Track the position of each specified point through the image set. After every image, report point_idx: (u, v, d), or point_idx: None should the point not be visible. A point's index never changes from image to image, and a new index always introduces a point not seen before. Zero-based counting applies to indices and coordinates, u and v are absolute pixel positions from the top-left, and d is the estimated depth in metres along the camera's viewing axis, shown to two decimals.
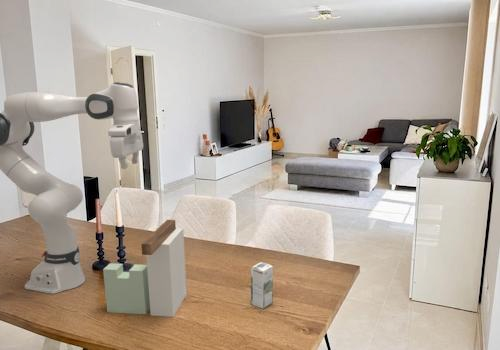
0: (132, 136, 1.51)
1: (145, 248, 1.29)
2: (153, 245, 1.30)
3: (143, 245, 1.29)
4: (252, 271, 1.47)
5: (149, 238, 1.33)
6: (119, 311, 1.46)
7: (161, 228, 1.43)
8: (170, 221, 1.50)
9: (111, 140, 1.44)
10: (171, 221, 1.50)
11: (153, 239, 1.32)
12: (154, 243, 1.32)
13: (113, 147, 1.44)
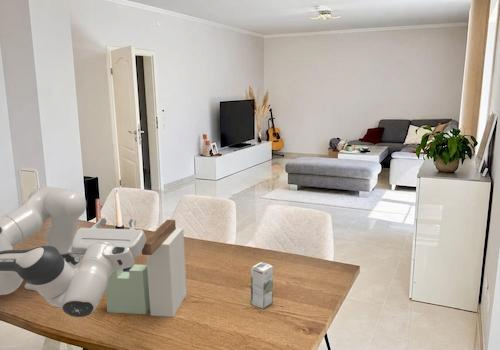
0: (107, 244, 1.15)
1: (145, 248, 1.29)
2: (153, 245, 1.30)
3: None
4: (252, 271, 1.47)
5: (149, 238, 1.33)
6: (119, 311, 1.46)
7: (161, 228, 1.43)
8: (170, 221, 1.50)
9: (138, 254, 1.17)
10: (171, 221, 1.50)
11: (153, 239, 1.32)
12: (154, 243, 1.32)
13: (142, 245, 1.18)
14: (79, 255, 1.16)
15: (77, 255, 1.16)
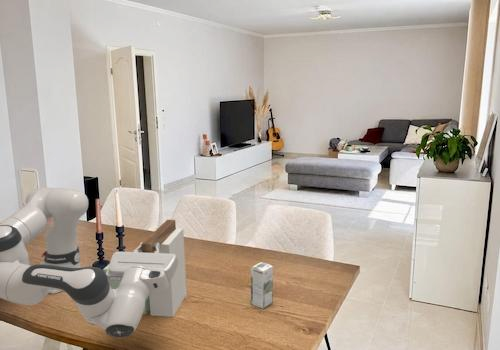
0: (143, 268, 1.22)
1: (145, 248, 1.29)
2: None
3: (143, 245, 1.29)
4: (252, 271, 1.47)
5: (149, 238, 1.33)
6: None
7: (161, 228, 1.43)
8: (170, 221, 1.50)
9: (172, 276, 1.24)
10: (171, 221, 1.50)
11: (153, 239, 1.32)
12: None
13: (175, 268, 1.26)
14: (116, 278, 1.23)
15: (114, 278, 1.23)
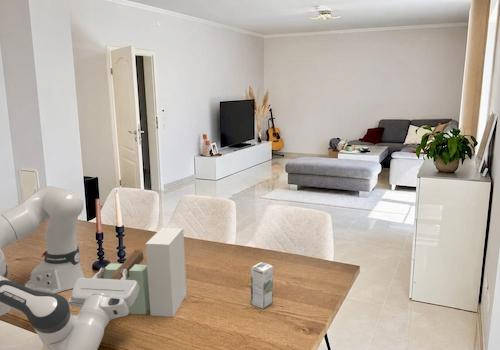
0: (104, 295, 1.26)
1: None
2: None
3: None
4: (252, 271, 1.47)
5: (113, 276, 1.37)
6: None
7: (127, 262, 1.47)
8: (137, 252, 1.54)
9: (132, 303, 1.28)
10: (138, 252, 1.54)
11: (117, 277, 1.36)
12: None
13: (136, 295, 1.29)
14: (78, 305, 1.27)
15: (76, 305, 1.27)
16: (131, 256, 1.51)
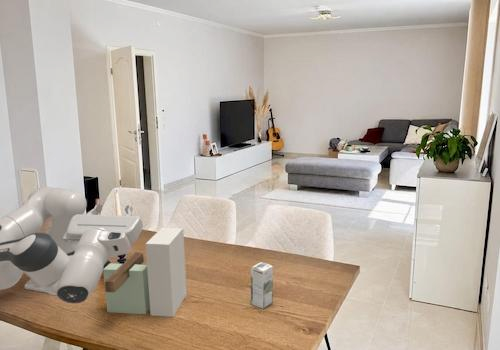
0: (103, 230, 1.13)
1: (108, 286, 1.33)
2: (116, 282, 1.35)
3: (106, 283, 1.33)
4: (252, 271, 1.47)
5: (113, 275, 1.38)
6: (119, 311, 1.46)
7: (128, 262, 1.47)
8: (138, 254, 1.54)
9: (135, 240, 1.15)
10: (139, 254, 1.54)
11: (117, 276, 1.37)
12: (118, 280, 1.36)
13: (139, 231, 1.16)
14: (74, 241, 1.13)
15: (72, 241, 1.14)
16: (131, 257, 1.51)
